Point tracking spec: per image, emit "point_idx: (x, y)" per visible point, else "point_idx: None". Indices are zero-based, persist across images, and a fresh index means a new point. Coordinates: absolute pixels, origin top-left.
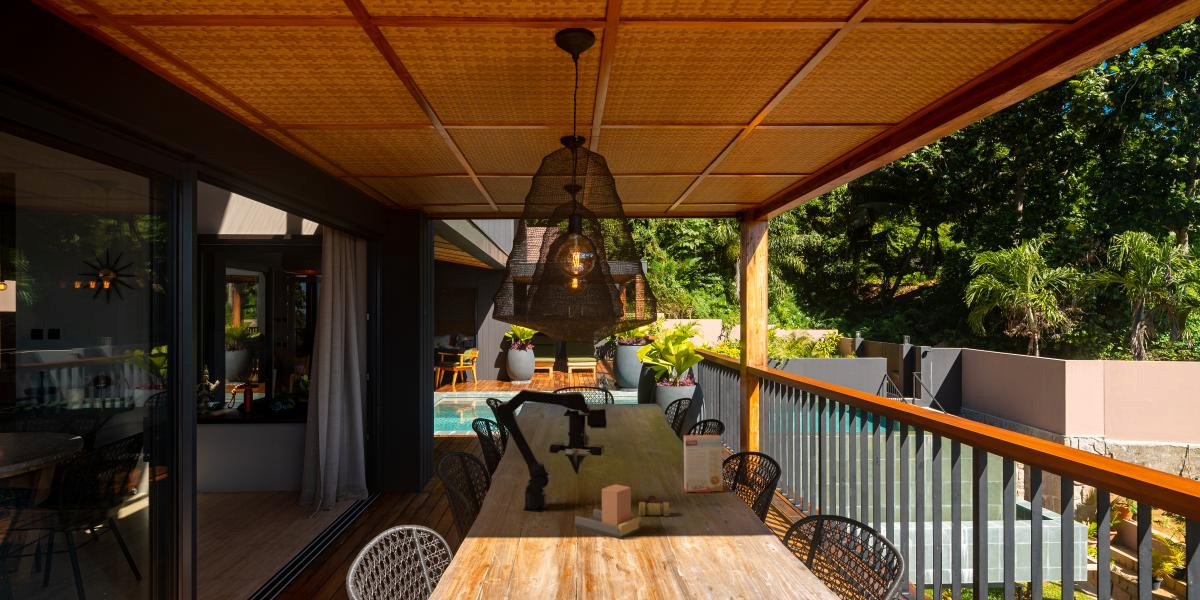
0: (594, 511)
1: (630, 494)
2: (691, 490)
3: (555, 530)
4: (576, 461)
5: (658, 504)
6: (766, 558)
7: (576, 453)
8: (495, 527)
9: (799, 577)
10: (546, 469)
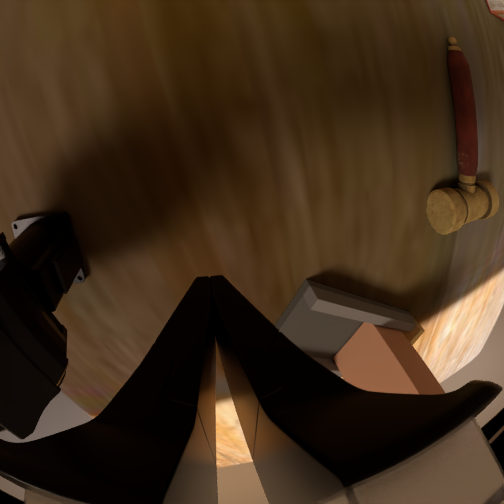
0: (314, 307)
1: (435, 379)
2: (500, 16)
3: (216, 379)
4: (206, 388)
5: (481, 214)
6: (487, 322)
7: (189, 495)
8: (81, 388)
9: (482, 344)
10: (9, 376)
